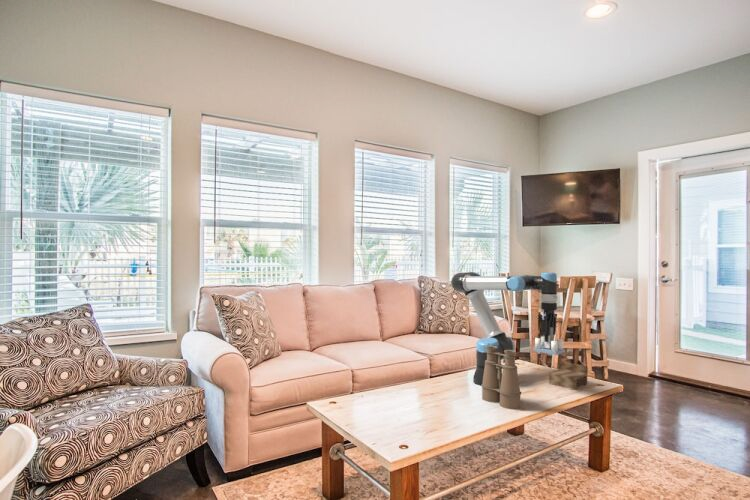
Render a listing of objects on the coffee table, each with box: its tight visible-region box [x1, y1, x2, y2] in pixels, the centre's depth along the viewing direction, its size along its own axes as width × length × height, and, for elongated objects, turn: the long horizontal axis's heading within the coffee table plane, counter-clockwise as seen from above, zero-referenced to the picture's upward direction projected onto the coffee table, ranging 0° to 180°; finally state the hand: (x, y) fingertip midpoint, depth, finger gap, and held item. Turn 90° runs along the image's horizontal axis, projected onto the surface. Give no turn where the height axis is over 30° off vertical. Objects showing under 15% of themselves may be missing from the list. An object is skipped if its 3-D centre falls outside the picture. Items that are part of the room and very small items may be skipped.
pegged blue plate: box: [532, 327, 566, 356], centre depth 217 cm, size 12×10×12 cm
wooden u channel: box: [548, 361, 588, 391], centre depth 226 cm, size 14×15×10 cm
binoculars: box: [480, 346, 522, 410], centre depth 197 cm, size 21×10×25 cm, turn 34°
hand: (548, 347), depth 217 cm, fingers closed on pegged blue plate, 3 cm apart
